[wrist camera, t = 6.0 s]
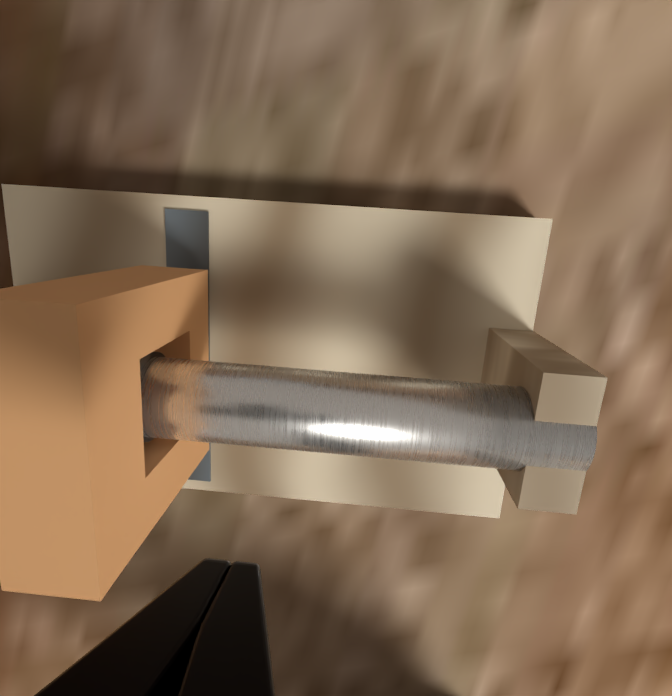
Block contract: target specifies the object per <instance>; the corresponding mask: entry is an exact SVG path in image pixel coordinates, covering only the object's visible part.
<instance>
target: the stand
mask: <svg viewBox="0 0 672 696" xmlns="http://www.w3.org/2000/svg"><path fill="white" fill-rule="evenodd" d="M1 185H2V193H3V202H4V210H5V219H6V227H7V236H8V244H9V253H10V261H11V270H12V278H13V286H19V285H25V284H31V283H37V282H43V281H49V280H55V279H61V278H67V277H73V276H79V275H85V274H91V273H97V272H104V271H110V270H116V269H122V268H128V267H134V266H140V265H147V266H160V267H174V268H188V269H202V270H208V346H209V361H215V362H228V363H240V364H252V365H264V366H277V367H289V368H301V369H313V370H326V371H338V372H350V373H362V374H375V375H387V376H399V377H411V378H424V379H436V380H448V381H461V382H473V383H485V384H497V385H510V386H522V387H524V388H525V389H526V390H527V391H528V393H529V395H530V398H531V401H532V405H533V410H534V421H541V422H553V423H565V424H577V425H588V426H597V422H598V417H599V413H600V409H601V404H602V400H603V395H604V391H605V387H606V382H607V377H605V376H604V375H602V374H601V373H599V372H598V371H596V370H594V369H593V368H591V367H590V366H588V365H586V364H585V363H583V362H582V361H580V360H578V359H577V358H575V357H574V356H572V355H570V354H569V353H567V352H566V351H564V350H562V349H561V348H559V347H558V346H556V345H554V344H553V343H551V342H550V341H548V340H546V339H545V338H543V337H542V336H540V335H539V334H537V333H535V332H534V331H533V327H534V321H535V316H536V310H537V304H538V299H539V293H540V288H541V282H542V276H543V271H544V265H545V260H546V254H547V248H548V243H549V237H550V232H551V226H552V220H553V219H544V218H529V217H513V216H497V215H482V214H466V213H450V212H435V211H419V210H403V209H387V208H372V207H356V206H340V205H325V204H309V203H293V202H278V201H262V200H246V199H231V198H215V197H199V196H184V195H168V194H152V193H136V192H121V191H105V190H89V189H74V188H58V187H42V186H27V185H11V184H1ZM585 474H586V471H579V470H568V469H557V468H546V467H535V466H525V468H524V469H522V470H520V471H517V470H506V469H495V468H483V467H472V466H461V465H450V464H439V463H428V462H417V461H406V460H395V459H384V458H373V457H362V456H351V455H340V454H329V453H318V452H307V451H295V450H284V449H273V448H262V447H251V446H240V445H229V444H218V443H209V451H208V452H207V453H206V455H205V456H204V458H203V459H202V460H201V462H200V463H199V465H198V466H197V467H196V469H195V470H194V471H193V473H192V474H191V476H190V477H189V478H188V480H187V481H186V483H185V484H184V485H183V487H182V488H187V489H198V490H208V491H219V492H229V493H240V494H250V495H261V496H271V497H281V498H292V499H302V500H313V501H323V502H334V503H344V504H355V505H365V506H376V507H386V508H396V509H407V510H417V511H428V512H438V513H449V514H459V515H470V516H480V517H491V518H499V517H500V511H501V506H502V500H503V495H504V489H505V486H506V488H507V489H508V491H509V493H510V495H511V497H512V499H513V501H514V503H515V504H516V506H517V508H518V509H525V510H535V511H546V512H556V513H567V514H577V509H578V505H579V501H580V496H581V492H582V488H583V483H584V479H585Z"/></svg>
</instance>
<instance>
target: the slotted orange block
mask: <svg viewBox="0 0 672 696" xmlns="http://www.w3.org/2000/svg"><path fill="white" fill-rule="evenodd" d="M153 351H154V352H160V353H162V354H163V355H164V356H165V357H166V358H179V359H191V360H203V361H209V346H208V270H202V269H188V268H174V267H160V266H147V265H140V266H134V267H128V268H122V269H116V270H110V271H104V272H97V273H91V274H85V275H79V276H73V277H67V278H61V279H55V280H49V281H43V282H37V283H31V284H25V285H19V286H13V287H7V288H1V289H0V582H1V588H2V591H10V592H20V593H29V594H38V595H47V596H56V597H66V598H75V599H84V600H93V601H101V600H102V599H103V597H104V596H105V594H106V593H107V592H108V590H109V589H110V587H111V586H112V585H113V583H114V582H115V580H116V579H117V578H118V576H119V575H120V573H121V572H122V571H123V569H124V568H125V566H126V565H127V564H128V562H129V561H130V560H131V558H132V557H133V555H134V554H135V553H136V551H137V550H138V548H139V547H140V546H141V544H142V543H143V541H144V540H145V539H146V537H147V536H148V534H149V533H150V532H151V530H152V529H153V527H154V526H155V525H156V523H157V522H158V520H159V519H160V518H161V516H162V515H163V513H164V512H165V511H166V509H167V508H168V506H169V505H170V504H171V502H172V501H173V499H174V498H175V497H176V495H177V494H178V492H179V491H180V490H181V488H182V487H183V485H184V484H185V483H186V481H187V480H188V478H189V477H190V476H191V474H192V473H193V471H194V470H195V469H196V467H197V466H198V465H199V463H200V462H201V460H202V459H203V458H204V456H205V455H206V453H207V452H208V451H209V443H207V442H196V441H185V440H174V439H163V438H154V439H153V440H151V441H149V442H144V439H143V419H142V398H141V378H140V359H141V358H143V357H145V356H146V355H148V354H150V353H151V352H153Z"/></svg>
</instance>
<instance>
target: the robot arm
mask: <svg viewBox="0 0 672 696" xmlns="http://www.w3.org/2000/svg"><path fill="white" fill-rule="evenodd" d="M34 696H275V689H274V681H273V672H272V664H271V656H270V647H269V639H268V630H267V622H266V613H265V605H264V596H263V588H262V579H261V571H260V566H259V565H258V564H257V563H249V562H239V561H236V562H234V563H231V562H230V561H228V560H220V559H210V558H208V559H204V560H202V561H201V562H200V563H198V564H197V565H196V566H195V567H193V568H192V569H191V570H190V571H188V572H187V573H186V574H185V575H183V576H182V577H181V578H180V579H178V580H177V581H176V582H175V583H173V584H172V585H171V586H170V587H168V588H167V589H166V590H165V591H164V592H162V593H161V594H160V595H159V596H157V597H156V598H155V599H154V600H152V601H151V602H150V603H149V604H147V605H146V606H145V607H144V608H142V609H141V610H140V611H139V612H137V613H136V614H135V615H134V616H132V617H131V618H130V619H129V620H128V621H126V622H125V623H124V624H123V625H121V626H120V627H119V628H118V629H116V630H115V631H114V632H113V633H111V634H110V635H109V636H108V637H106V638H105V639H104V640H103V641H101V642H100V643H99V644H98V645H96V646H95V647H94V648H93V649H92V650H90V651H89V652H88V653H87V654H85V655H84V656H83V657H82V658H80V659H79V660H78V661H77V662H75V663H74V664H73V665H72V666H70V667H69V668H68V669H67V670H65V671H64V672H63V673H62V674H60V675H59V676H58V677H57V678H56V679H54V680H53V681H52V682H51V683H49V684H48V685H47V686H46V687H44V688H43V689H42V690H41V691H39V692H38V693H37V694H36V695H34Z"/></svg>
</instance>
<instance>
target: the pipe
mask: <svg viewBox="0 0 672 696" xmlns="http://www.w3.org/2000/svg"><path fill="white" fill-rule="evenodd" d="M140 378H141V398H142V419H143V439H144V442H149V441H151V440H153V439H154V438H163V439H174V440H185V441H196V442H207V443H218V444H229V445H240V446H251V447H262V448H273V449H284V450H295V451H307V452H318V453H329V454H340V455H351V456H362V457H373V458H384V459H395V460H406V461H417V462H428V463H439V464H450V465H461V466H472V467H483V468H495V469H506V470H517V471H520V470H522V469H524V468H525V466H535V467H546V468H557V469H568V470H579V471H587V470H588V468H589V467H590V465H591V463H592V460H593V458H594V454H595V449H596V442H597V426H588V425H577V424H565V423H553V422H541V421H534V410H533V405H532V401H531V398H530V395H529V393H528V391H527V390H526V389H525V388H524V387H522V386H510V385H497V384H485V383H473V382H461V381H448V380H436V379H424V378H411V377H399V376H387V375H375V374H362V373H350V372H338V371H326V370H313V369H301V368H289V367H277V366H264V365H252V364H240V363H228V362H215V361H203V360H191V359H179V358H166V357H165V356H164V355H163V354H162V353H160V352H154V351H153V352H151V353H150V354H148V355H146V356H145V357H143V358H141V359H140Z"/></svg>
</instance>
